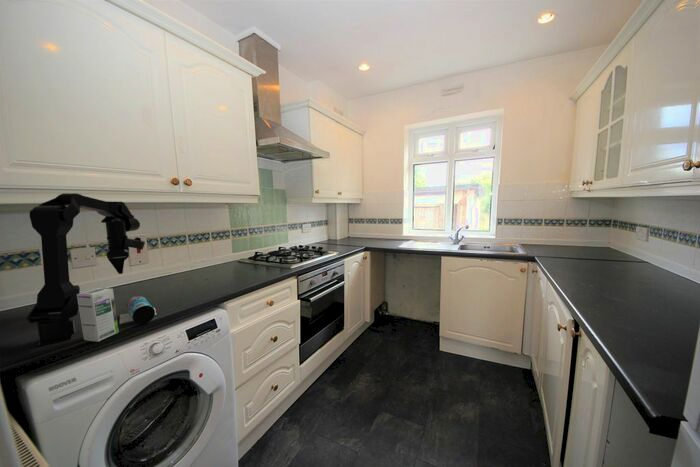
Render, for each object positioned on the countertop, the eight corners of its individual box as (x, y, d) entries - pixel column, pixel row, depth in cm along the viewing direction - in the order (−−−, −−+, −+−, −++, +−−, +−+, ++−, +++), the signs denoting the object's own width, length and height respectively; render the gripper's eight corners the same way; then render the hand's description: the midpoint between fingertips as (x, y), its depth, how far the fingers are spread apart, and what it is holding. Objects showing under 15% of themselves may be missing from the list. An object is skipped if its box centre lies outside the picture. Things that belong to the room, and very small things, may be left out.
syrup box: (98, 342, 75) (92, 294, 74) (82, 340, 77) (76, 293, 75) (119, 332, 81) (113, 287, 79) (104, 331, 82) (98, 286, 80)
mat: (119, 323, 87) (119, 322, 87) (120, 316, 93) (120, 315, 93) (156, 315, 93) (156, 314, 93) (154, 308, 99) (154, 307, 99)
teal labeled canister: (143, 292, 97) (152, 302, 87) (148, 306, 99) (157, 318, 89) (123, 299, 93) (130, 311, 83) (128, 314, 95) (136, 327, 85)
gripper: (143, 233, 101) (147, 272, 103) (141, 230, 115) (145, 264, 117) (104, 236, 94) (109, 277, 96) (107, 232, 108) (111, 268, 110)
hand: (121, 271), depth 105 cm, fingers open, 9 cm apart
